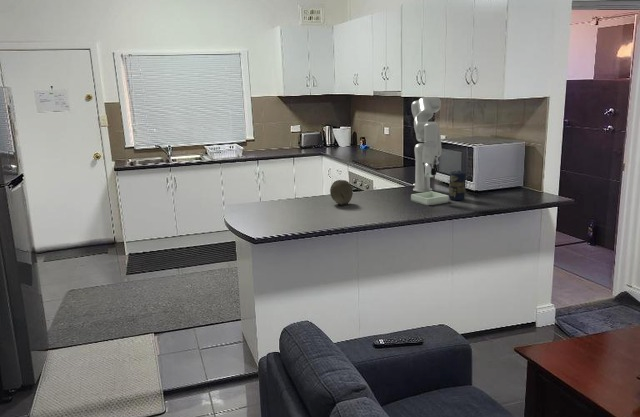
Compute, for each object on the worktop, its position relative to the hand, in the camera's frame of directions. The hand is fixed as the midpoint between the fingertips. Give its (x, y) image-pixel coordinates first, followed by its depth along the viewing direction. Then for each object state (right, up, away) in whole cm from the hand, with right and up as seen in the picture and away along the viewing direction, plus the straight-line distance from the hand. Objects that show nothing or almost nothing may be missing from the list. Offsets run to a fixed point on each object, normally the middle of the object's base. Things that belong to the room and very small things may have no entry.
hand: (430, 173), depth 313 cm
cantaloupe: (-53, -19, +4) cm, 56 cm away
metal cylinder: (0, -2, 0) cm, 2 cm away
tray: (+1, -17, +4) cm, 17 cm away
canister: (+18, -15, +7) cm, 25 cm away
